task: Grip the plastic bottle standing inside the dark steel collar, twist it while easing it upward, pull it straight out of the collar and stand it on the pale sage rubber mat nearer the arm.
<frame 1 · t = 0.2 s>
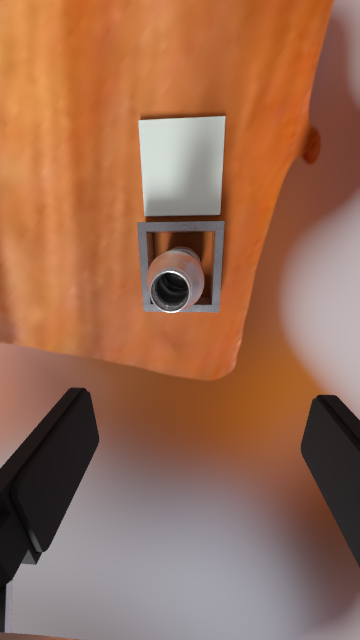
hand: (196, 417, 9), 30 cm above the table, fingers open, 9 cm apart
plastic bottle: (182, 266, 36), resting in steel collar
steel collar: (182, 266, 36), on the table
mat: (181, 171, 31), on the table
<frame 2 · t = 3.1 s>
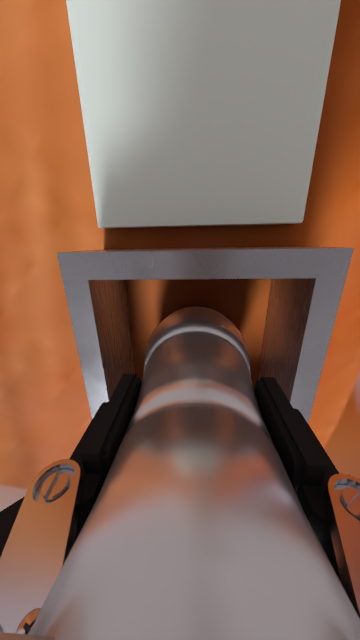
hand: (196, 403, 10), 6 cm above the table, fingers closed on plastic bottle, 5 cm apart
plastic bottle: (195, 340, 16), resting in steel collar, touching gripper
steel collar: (195, 341, 16), on the table
mat: (198, 100, 11), on the table
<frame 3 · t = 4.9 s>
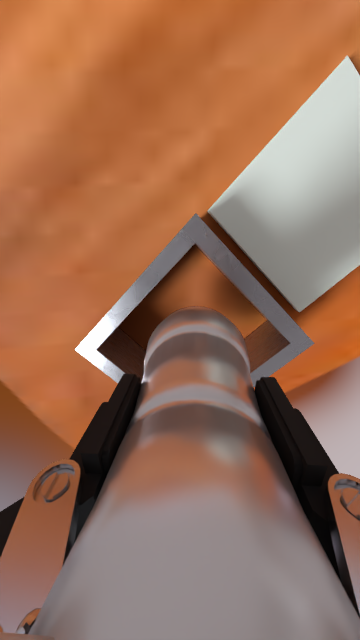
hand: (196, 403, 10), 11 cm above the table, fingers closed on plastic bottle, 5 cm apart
plastic bottle: (195, 340, 16), point 5 cm above the table, touching gripper
steel collar: (190, 323, 20), on the table
mat: (313, 208, 17), on the table
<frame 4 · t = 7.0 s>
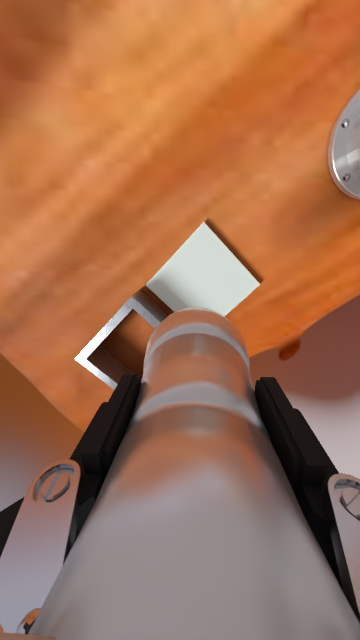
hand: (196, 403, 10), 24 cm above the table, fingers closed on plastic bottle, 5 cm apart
plastic bottle: (195, 340, 16), point 17 cm above the table, touching gripper
steel collar: (142, 342, 35), on the table
mat: (201, 283, 31), on the table
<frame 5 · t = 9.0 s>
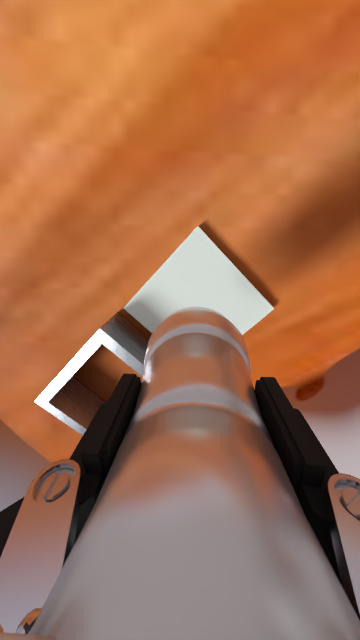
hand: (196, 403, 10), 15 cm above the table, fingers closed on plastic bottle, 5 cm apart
plastic bottle: (195, 340, 16), point 9 cm above the table, touching gripper
steel collar: (123, 375, 28), on the table
mat: (196, 306, 24), on the table
when the fingers open (9 cm above the table, at t = 10.7 s): plastic bottle drops 1 cm, resting on mat.
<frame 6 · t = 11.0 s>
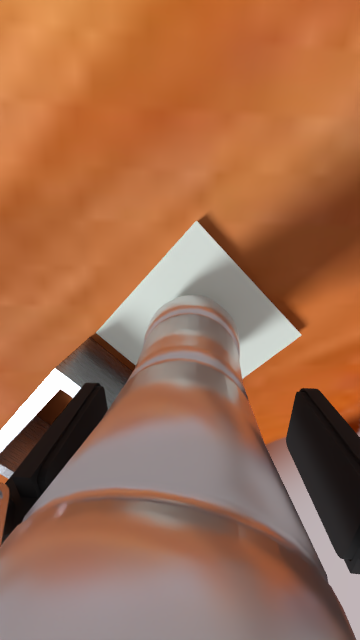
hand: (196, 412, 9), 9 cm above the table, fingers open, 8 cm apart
plastic bottle: (193, 328, 17), point 1 cm above the table, touching mat
steel collar: (101, 415, 22), on the table
mat: (195, 330, 18), on the table
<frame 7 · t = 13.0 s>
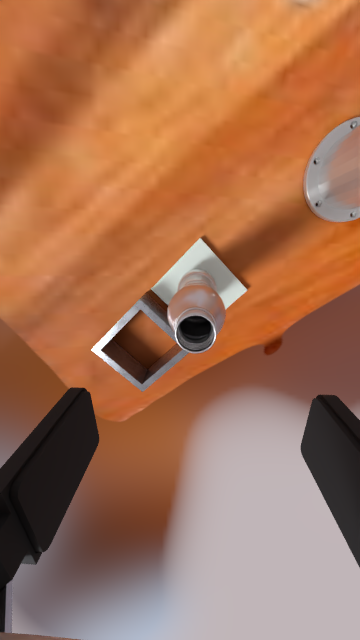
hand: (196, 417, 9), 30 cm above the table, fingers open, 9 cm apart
plastic bottle: (197, 287, 36), point 1 cm above the table, touching mat
steel collar: (147, 337, 41), on the table
mat: (198, 288, 37), on the table
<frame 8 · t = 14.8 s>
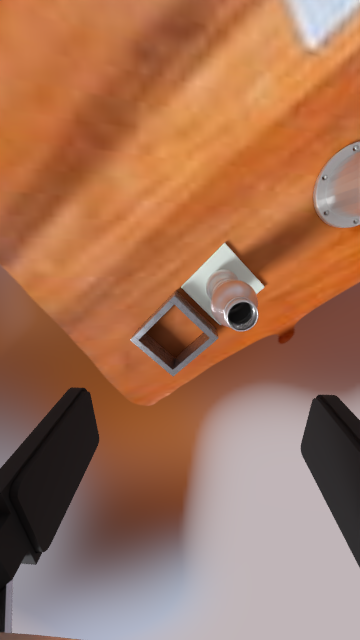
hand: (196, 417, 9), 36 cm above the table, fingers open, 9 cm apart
plastic bottle: (220, 284, 42), point 1 cm above the table, touching mat
steel collar: (175, 329, 47), on the table
mat: (221, 286, 43), on the table
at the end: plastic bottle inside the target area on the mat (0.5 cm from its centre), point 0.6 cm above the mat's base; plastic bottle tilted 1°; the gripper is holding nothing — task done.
